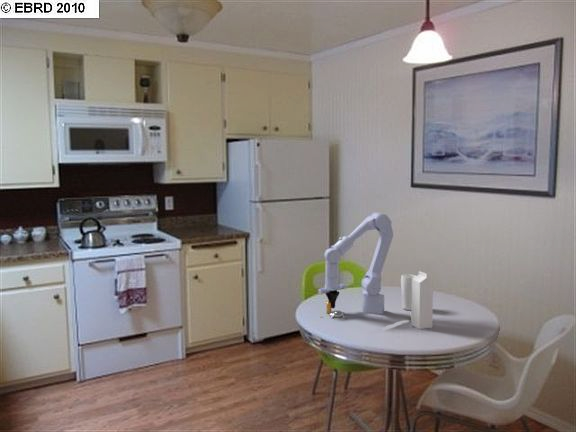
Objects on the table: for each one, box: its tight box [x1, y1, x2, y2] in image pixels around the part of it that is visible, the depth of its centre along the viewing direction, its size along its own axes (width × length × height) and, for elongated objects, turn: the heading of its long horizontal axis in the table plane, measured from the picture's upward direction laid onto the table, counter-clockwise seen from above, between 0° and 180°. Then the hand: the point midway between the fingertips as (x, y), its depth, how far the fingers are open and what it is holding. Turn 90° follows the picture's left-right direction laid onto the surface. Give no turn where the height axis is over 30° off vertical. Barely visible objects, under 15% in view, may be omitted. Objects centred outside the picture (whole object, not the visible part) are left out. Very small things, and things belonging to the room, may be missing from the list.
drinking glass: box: [400, 273, 417, 311], centre depth 216 cm, size 7×7×15 cm
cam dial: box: [326, 300, 347, 319], centre depth 204 cm, size 10×8×5 cm
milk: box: [410, 270, 434, 330], centre depth 193 cm, size 6×6×22 cm
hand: (332, 307), depth 208 cm, fingers closed
